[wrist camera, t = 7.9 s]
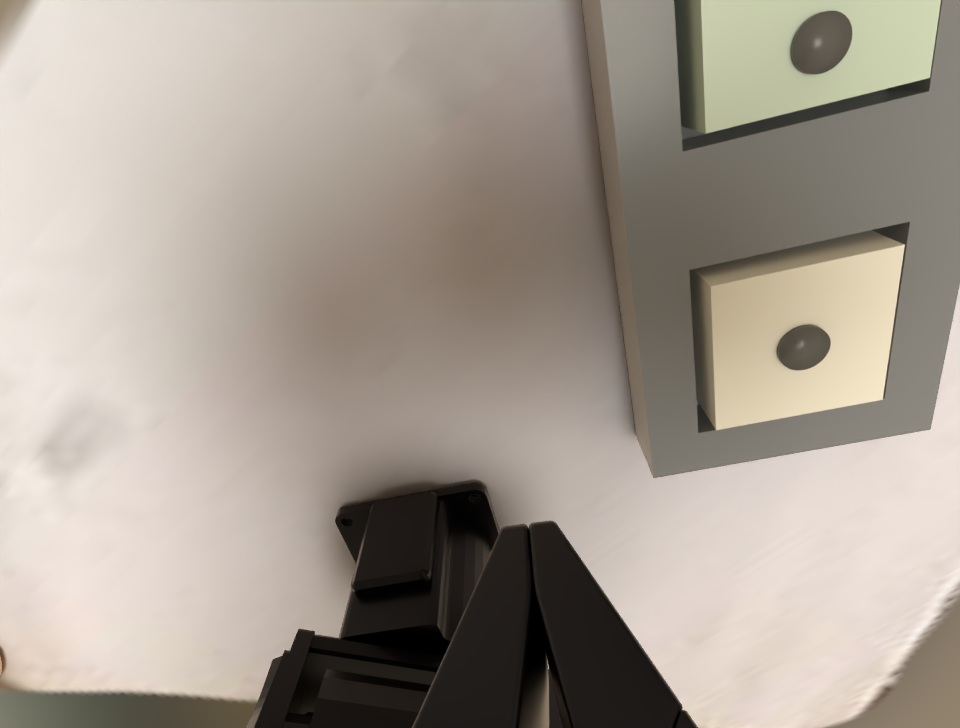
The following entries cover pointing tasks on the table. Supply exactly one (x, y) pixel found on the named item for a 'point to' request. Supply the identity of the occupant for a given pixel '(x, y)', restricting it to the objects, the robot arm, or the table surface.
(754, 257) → the cream tile one
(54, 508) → the table surface
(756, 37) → the sage tile two
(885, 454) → the table surface
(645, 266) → the panel
